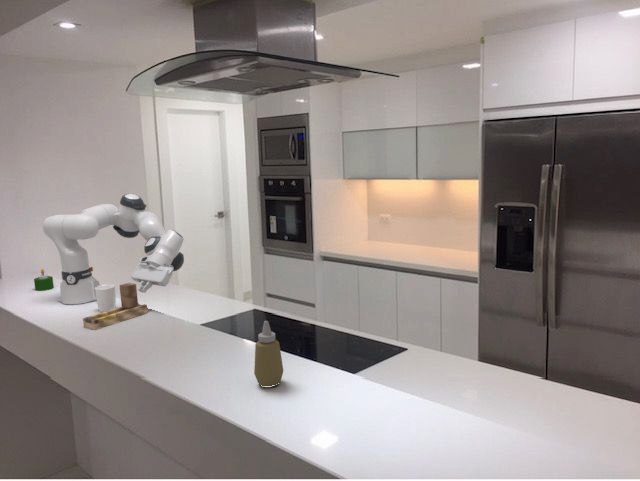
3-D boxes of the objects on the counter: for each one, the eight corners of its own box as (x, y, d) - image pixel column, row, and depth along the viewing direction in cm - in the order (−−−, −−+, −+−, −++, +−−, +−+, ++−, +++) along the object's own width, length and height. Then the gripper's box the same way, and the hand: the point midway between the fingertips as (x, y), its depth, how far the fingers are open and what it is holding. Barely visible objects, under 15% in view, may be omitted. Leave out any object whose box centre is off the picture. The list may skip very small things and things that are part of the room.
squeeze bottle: (251, 390, 147) (247, 326, 144) (258, 377, 155) (255, 316, 152) (280, 390, 146) (277, 326, 143) (286, 378, 154) (283, 316, 151)
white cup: (104, 313, 224) (101, 290, 222) (93, 310, 229) (91, 287, 227) (121, 308, 230) (118, 285, 229) (110, 306, 235) (108, 283, 233)
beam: (136, 310, 227) (136, 302, 226) (147, 312, 223) (146, 304, 222) (83, 327, 207) (82, 318, 207) (94, 330, 203) (93, 321, 203)
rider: (131, 307, 223) (129, 282, 221) (138, 309, 220) (136, 283, 219) (122, 310, 219) (119, 285, 218) (129, 312, 217) (126, 286, 215)
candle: (38, 287, 274) (35, 268, 273) (55, 286, 276) (53, 266, 274) (32, 291, 266) (30, 271, 264) (51, 290, 268) (48, 270, 266)
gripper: (179, 270, 226) (163, 298, 220) (148, 265, 238) (131, 292, 232) (170, 261, 222) (153, 290, 216) (138, 257, 234) (121, 284, 227)
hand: (141, 291), depth 224 cm, fingers closed
